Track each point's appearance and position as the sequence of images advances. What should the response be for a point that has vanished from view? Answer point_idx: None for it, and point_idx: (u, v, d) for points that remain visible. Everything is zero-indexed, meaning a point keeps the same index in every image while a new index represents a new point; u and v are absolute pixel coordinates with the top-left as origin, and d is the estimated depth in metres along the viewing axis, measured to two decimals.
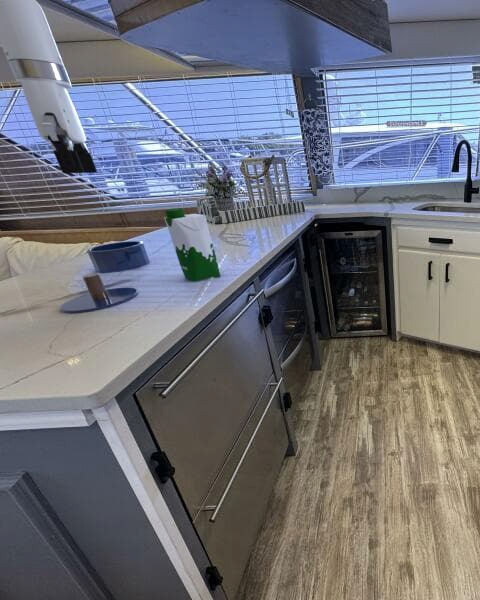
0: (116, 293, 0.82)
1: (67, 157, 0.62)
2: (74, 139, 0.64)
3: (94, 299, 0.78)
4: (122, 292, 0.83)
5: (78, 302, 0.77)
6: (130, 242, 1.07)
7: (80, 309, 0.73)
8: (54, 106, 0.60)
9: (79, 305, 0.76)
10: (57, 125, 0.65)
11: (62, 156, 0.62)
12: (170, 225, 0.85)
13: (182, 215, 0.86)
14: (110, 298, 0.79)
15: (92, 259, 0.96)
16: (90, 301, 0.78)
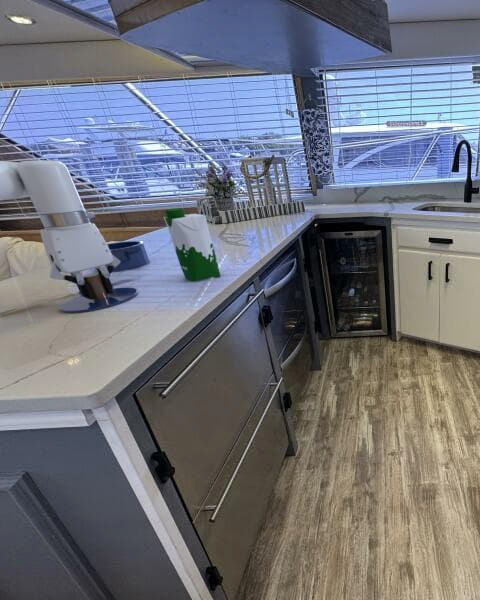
0: (116, 293, 0.82)
1: None
2: (72, 272, 0.73)
3: (94, 299, 0.78)
4: (122, 292, 0.83)
5: (78, 302, 0.77)
6: (130, 242, 1.07)
7: (80, 309, 0.73)
8: (51, 250, 0.70)
9: (79, 304, 0.76)
10: None
11: (78, 287, 0.76)
12: (170, 225, 0.85)
13: (182, 215, 0.86)
14: (110, 298, 0.79)
15: None
16: (90, 301, 0.78)
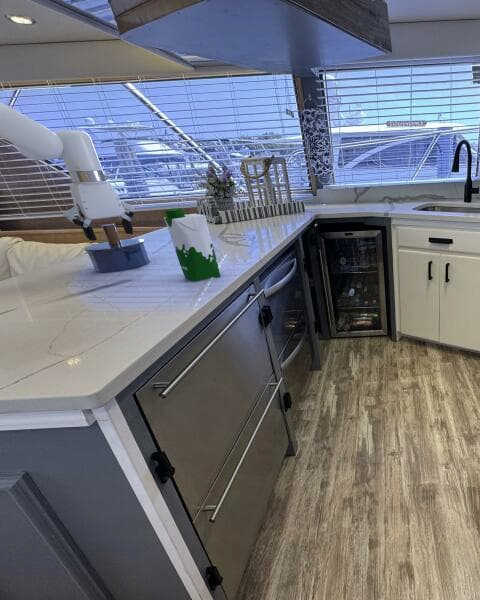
0: (127, 241, 1.03)
1: (86, 231, 0.94)
2: (93, 218, 0.94)
3: (110, 244, 0.99)
4: (132, 241, 1.04)
5: (98, 246, 0.98)
6: None
7: (100, 249, 0.94)
8: (78, 200, 0.91)
9: (98, 247, 0.97)
10: None
11: (83, 230, 0.94)
12: (170, 225, 0.85)
13: (182, 215, 0.86)
14: (122, 244, 1.00)
15: (92, 259, 0.96)
16: (107, 245, 0.99)
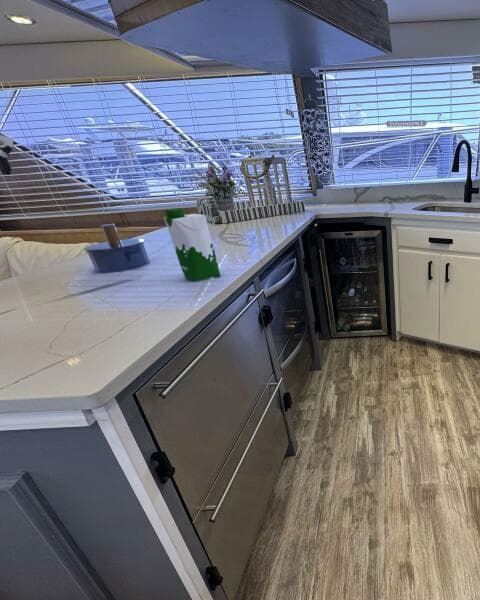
0: (127, 241, 1.03)
1: None
2: None
3: (110, 244, 0.99)
4: (132, 241, 1.04)
5: (98, 246, 0.98)
6: None
7: (100, 249, 0.94)
8: None
9: (98, 247, 0.97)
10: None
11: None
12: (170, 225, 0.85)
13: (182, 215, 0.86)
14: (122, 244, 1.00)
15: (92, 259, 0.96)
16: (107, 245, 0.99)
